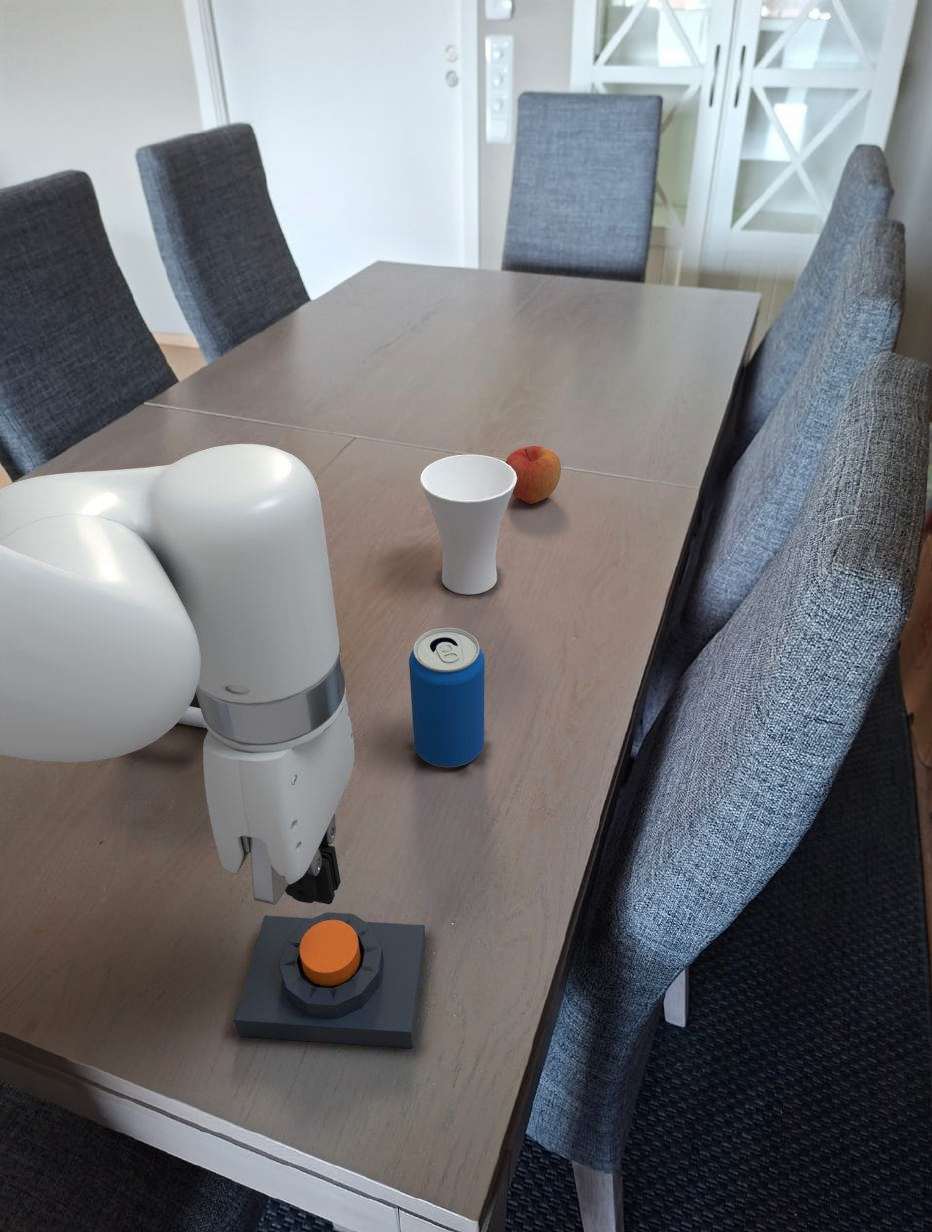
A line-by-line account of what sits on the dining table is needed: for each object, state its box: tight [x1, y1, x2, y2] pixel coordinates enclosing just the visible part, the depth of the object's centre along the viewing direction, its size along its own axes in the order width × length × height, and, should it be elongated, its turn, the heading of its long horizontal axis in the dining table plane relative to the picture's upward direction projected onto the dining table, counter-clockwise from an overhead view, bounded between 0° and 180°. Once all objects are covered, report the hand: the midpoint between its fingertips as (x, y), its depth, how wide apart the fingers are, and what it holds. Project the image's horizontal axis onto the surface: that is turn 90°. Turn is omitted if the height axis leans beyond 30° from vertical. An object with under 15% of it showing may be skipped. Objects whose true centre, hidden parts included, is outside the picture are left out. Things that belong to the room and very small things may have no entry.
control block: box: [233, 911, 427, 1049], centre depth 62 cm, size 12×8×4 cm, turn 86°
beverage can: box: [408, 627, 486, 768], centre depth 78 cm, size 6×6×12 cm
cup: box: [419, 453, 517, 595], centre depth 98 cm, size 10×10×14 cm
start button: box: [299, 920, 360, 986], centre depth 60 cm, size 4×4×2 cm
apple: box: [505, 445, 562, 505], centre depth 115 cm, size 7×7×8 cm
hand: (313, 889), depth 57 cm, fingers closed
